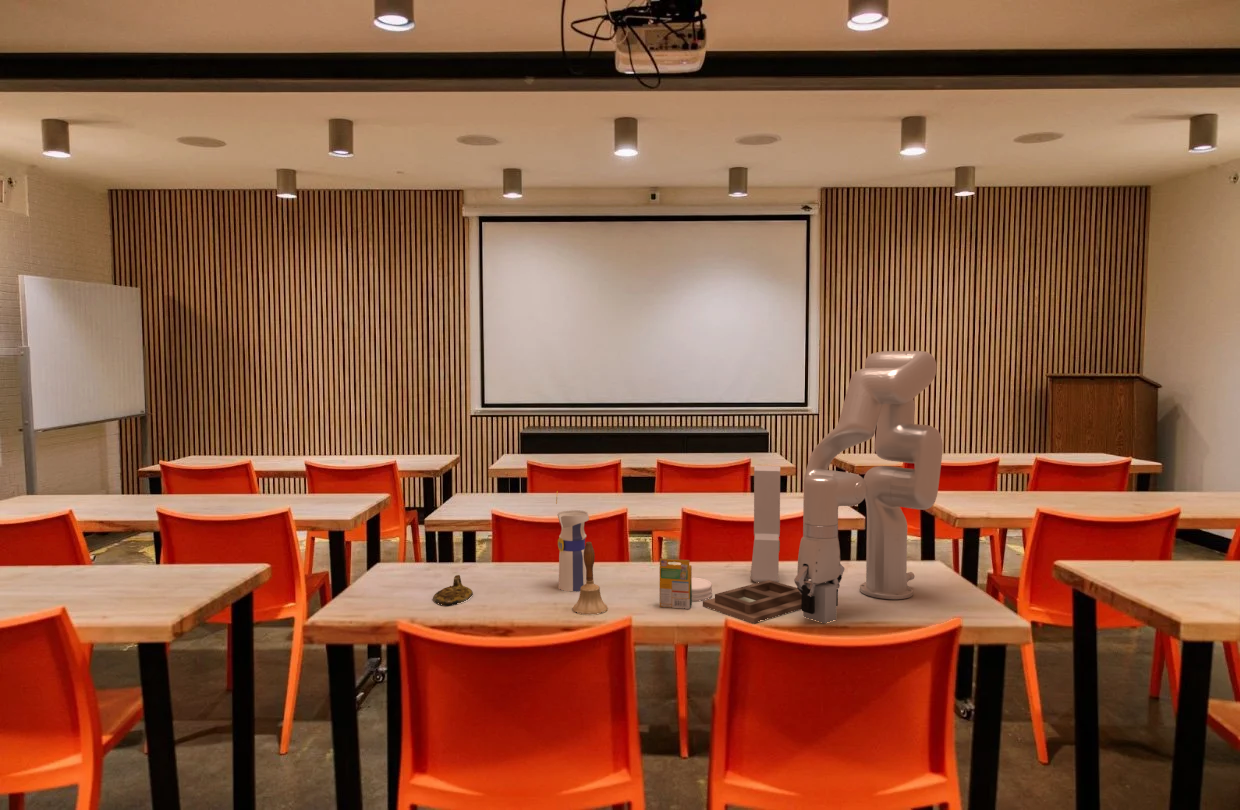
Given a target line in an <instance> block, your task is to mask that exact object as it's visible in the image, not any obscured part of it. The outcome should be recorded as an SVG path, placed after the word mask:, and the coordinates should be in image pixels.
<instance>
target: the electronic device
mask: <svg viewBox="0 0 1240 810" xmlns="http://www.w3.org/2000/svg"><path fill="white" fill-rule="evenodd" d="M753 471H754V474H753V483H754V484H753V490H754V491H753V536H754V540H753V548H752V558H751V559H752V560H751V566H750V567H751V569H750V579H751V580H752V581H753V582H754V583H755V582H763V581H767V580H771V581H775V582H778V583H779V557H780V556H779V555H780V554H779V553H780V551H781V550H780V548H781V547H780V546H781V542H780V538H779V537H781V536H780V534H781V533H780V532H781V527H780V526H781V465H754V469H753Z"/></svg>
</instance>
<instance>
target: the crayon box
mask: <svg viewBox="0 0 1240 810" xmlns="http://www.w3.org/2000/svg"><path fill="white" fill-rule="evenodd" d="M673 562H675V563H680V564H673ZM669 563H670V564H669ZM671 563H672V564H671ZM692 567H693V566H692V565H690V559H676V558H673V559H672V558H659V608H671V607H672V608H671V609H673V608H674V609H684V608H685V609H686V610H690V609H691V607H692V606H693V601H692V578H693V576H692V574H693V573H692V569H693V568H692Z"/></svg>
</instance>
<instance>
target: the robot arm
mask: <svg viewBox="0 0 1240 810" xmlns="http://www.w3.org/2000/svg"><path fill="white" fill-rule="evenodd" d="M936 374H937V362H936V359H935V357H934V356H933V355H932V354H931V353H929V352H927V351H924V350H900V351H899V350H891V351H890V350H884V351H878V352H873V353H870V354H869V355H868V356H867V357H866V359H865V361H864V368H861V369H860V368H859V369H858V370H856V371H854V373H853V374H852V375H851V378H850V381H849V384H848V387H847V391H846V393H845V394H846V395H845V397H844V402H843V404H842V408H841V412H840V417H839V419H838V423H837V425H836V426H835V428H833V430H831V431H830V432H829V433H827V434H826V435H825V437H823V438H822V439H821V440H820V442H819V443H818V444H817V445H816V446H815V447H814V448H813V451H812V452H811V454H810V457H809V460H808V463H807V466H806V470H805V474H804V477H803V478H804V480H803V500H802V501H803V509H802V510H803V512H802V513H803V514H802V516H803V519H802V521H803V522H802V523H803V524H802V525H803V527H802V537H801V539H800V542H799V547H798V548H799V549H798V556H797V557H798V558H797V568H796V569H797V571H796V572H797V574H796V576H795V578H794V584H795V585H796V588H798V590H799V591H800V594H802V596H801V609H800V611H802V612H806V613H810V614H814V612H815V596H812V595H813V593H814V590H815V587H816V584H820V583H824V582H826V583H830V584H834V585H837V595H836V607H838V605H839V589H840V586H841V585H840V583H841V581H842V579H843V577H842V576H843V574H844V573H845V567H844V565H843V564H841V548H840V541H839V507H853V506H857V505H859V504H861V503H862V502H863V501H864V500H865V505H866V506H865V507H866V557H865V559H866V561H865V562H866V564H865V566H866V567H865V570H866V571H865V579H866V581H865V582H862V583H860V585H859V591H860V592H861V593H862V594H864V595H865V596H868V597H872V598H876V599H881V600H882V599H883V600H884V599H885V600H903V599H909V598H911V597H912V596H913V595H914V590H913V588H912V587H911V586H908V582H909V581H913V580H914V579H915V574H914V573H913V572H912V571H910V572H907V566H908V565H907V564H908V563H907V561H908V560H907V559H908V557H907V556H908V522H907V519H906V516H905V514H904V512H903V510H902V508H904V509H905V508H906V509H912V510H923V511H924V510H928V509H930V508H932V507H933V506H934V504H935V502H936V500H937V497H938V494H939V493H938V492H939V485H940V477H941V468H942V459H943V450H944V449H943V447H944V445H943V438H942V435H941V434H940V431H939V430H938V429H937V428H936V427H934V426H932V425H928V424H915V411H916V404H915V400H914V398H916V397H917V396H918V395H919V394H921V393H922V392H923V391H924V390H925V389H927V388H928V386H930V385H931V384H932V382H933V381H934V379H935V377H936V376H937V375H936ZM874 436H875V437H874ZM873 437H874V438H875V439H874V451H875V454H876V456H877V457H878V458H880V459H882V460H884V461H891V462H897V463H907V464H914V468H907V467H906V468H905V467H900V466H899V467H898V466H888V465H877V466H873V467H871V468H870V469H868V470H867V471H866V472H865V474H864V476H861V475H860V474H857V473H854V472H853V473H852V472H846V471H838V470H830V469H829V467H830V465H831V463H832V461H833V460H834V459H835V458H836V457H838V455H839V454H841V453H842V452H843V451H846V450H847V449H850V448H852V447H854V446H857V445H859V444H862V443H864V442H867V441H870V440H871V439H872V438H873ZM807 584H809V585H810V588H809V589H808V587H807Z"/></svg>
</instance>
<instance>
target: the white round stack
mask: <svg viewBox="0 0 1240 810" xmlns="http://www.w3.org/2000/svg"><path fill="white" fill-rule="evenodd" d="M712 587H713V583H712V582H711V581H710V580H709V579H705V578H700V577H692V602H700V601H699V600H703V601H706V600H705V599H707V600H709V599H711V598H712V596H713V588H712ZM710 597H711V598H710ZM708 598H709V599H708Z"/></svg>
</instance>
